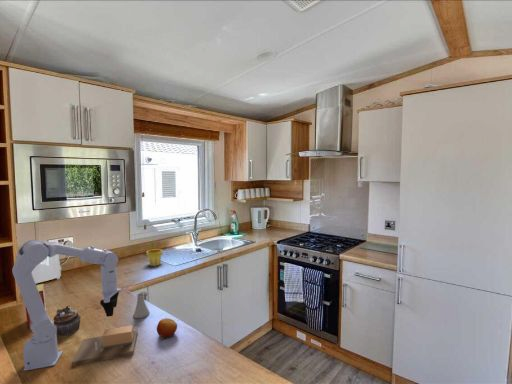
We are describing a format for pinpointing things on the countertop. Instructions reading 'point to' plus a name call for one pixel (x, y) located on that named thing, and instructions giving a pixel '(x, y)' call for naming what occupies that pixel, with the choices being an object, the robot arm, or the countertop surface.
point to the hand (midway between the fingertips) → (111, 311)
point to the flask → (141, 307)
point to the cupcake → (67, 321)
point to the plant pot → (154, 256)
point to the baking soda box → (42, 295)
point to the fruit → (166, 328)
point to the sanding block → (118, 336)
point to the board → (101, 350)
